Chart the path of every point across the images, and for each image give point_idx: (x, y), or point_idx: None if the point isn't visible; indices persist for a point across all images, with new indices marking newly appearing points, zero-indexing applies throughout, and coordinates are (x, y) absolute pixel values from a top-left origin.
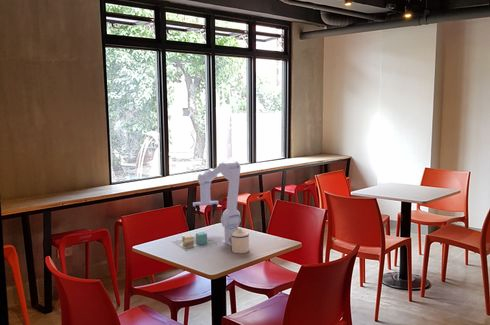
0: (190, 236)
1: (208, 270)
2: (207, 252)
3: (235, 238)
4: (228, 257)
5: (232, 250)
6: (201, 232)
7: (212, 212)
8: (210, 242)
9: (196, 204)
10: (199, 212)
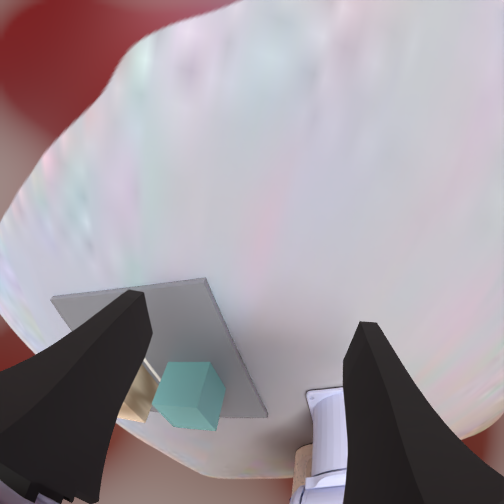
0: (132, 418)
1: (203, 471)
2: (213, 432)
3: None
4: (267, 461)
5: (295, 455)
6: (185, 409)
7: (358, 421)
8: (243, 391)
9: (3, 493)
10: (107, 419)
